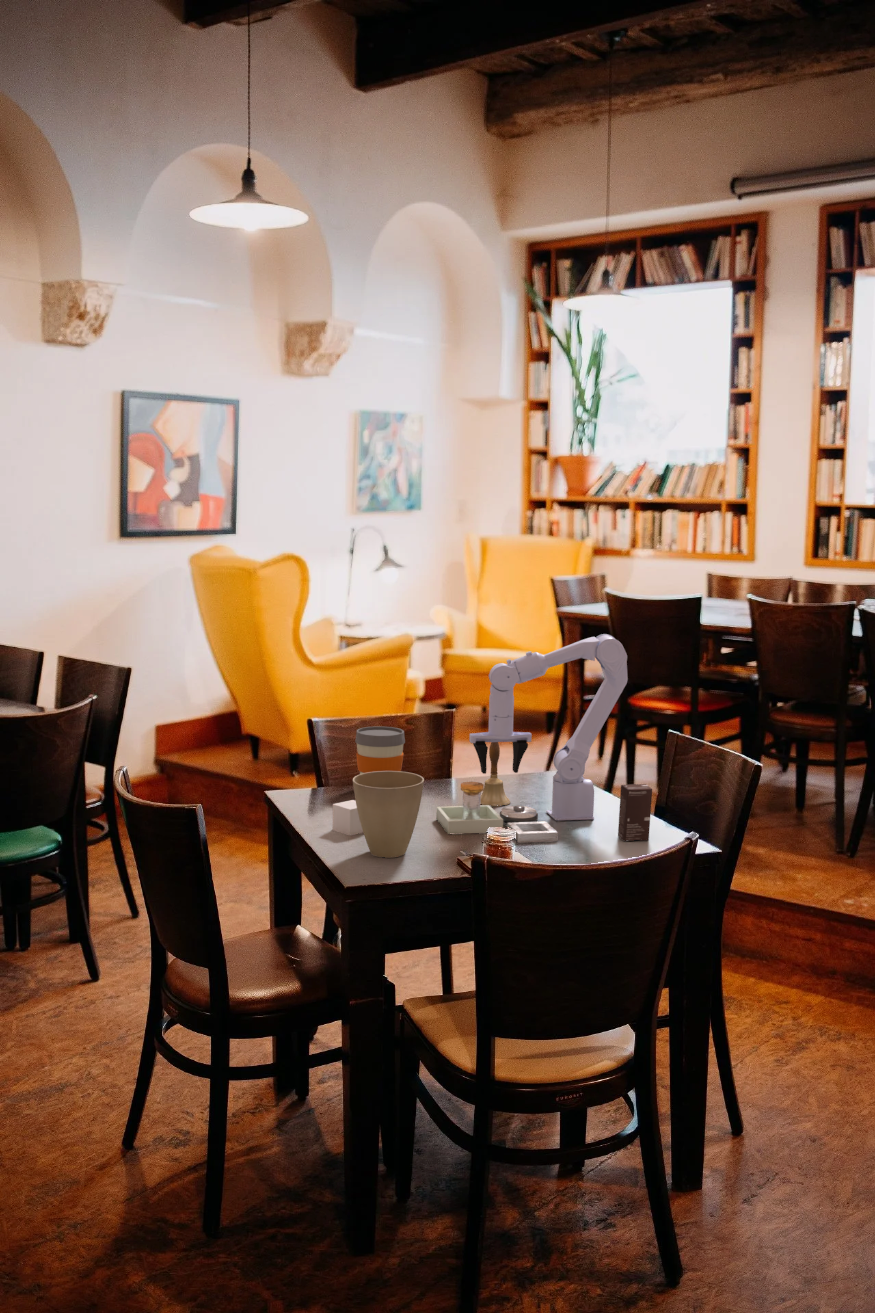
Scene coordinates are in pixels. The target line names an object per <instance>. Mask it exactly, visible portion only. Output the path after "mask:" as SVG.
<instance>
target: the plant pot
mask: <svg viewBox="0 0 875 1313" xmlns="http://www.w3.org/2000/svg"><path fill="white" fill-rule="evenodd" d="M424 783H425V778H424V777H423V776H421V775H420V774H417V773H413V772H408V771H402V770H401V771H376V772H368V773H363V774H360V773H359V774H358V775H355V776H354V777H353V778H352V786H353V792H354V798H355V799H354V800H355V801H356V806H357V810H358V815H359V819H360V823H361V826H362V830H363V835H364V836H363V837H364V838H365V841H366V844H367V847H368V850H369V852H370V854H371V855H373V856H374V857H377V858H382V857H385V858H384V859H389V858H390V859H391V858H397V857H402V856H404V855H405V854H406V852H407V851H408V847H409V845H410V842H411V839H412V836H413V833H414V829H415V827H416V823H417V819H418V815H419V812H420V807H421V804H422V802H421V801H422V797H423V788H424Z"/></svg>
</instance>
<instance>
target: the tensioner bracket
mask: <svg viewBox="0 0 875 1313" xmlns="http://www.w3.org/2000/svg"><path fill="white" fill-rule="evenodd" d="M499 816H500V817H501V818H502V819H503V826H505V825H506V827H509V828H511V829H514V830H515V831H516V840H517V841H516V840H515V841H516V842H517V843H518V844H520V843H521V844H523V843H525V844H526V843H548V842H558V838H559V831H557V830H556V829H555V828H554V827H552V826H551V824H549V822H547V821H546V820H545V821H539V813H538V812H537V809H535V808H533V807H530V806H525V805H517V804H516V805H510V806H509V805H507V806H503V807H502V808H501V810H500V811H499Z"/></svg>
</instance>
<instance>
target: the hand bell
mask: <svg viewBox="0 0 875 1313" xmlns="http://www.w3.org/2000/svg"><path fill="white" fill-rule="evenodd" d="M500 747H501V746H500V744H499V742H490V745H489V747H488V749H489V751H488V754H489V756H488V757H489V759H490V761H489V762H490V777H489V778H488V779H486V780H485V781H484V790H483V791H482V792H481V804H482V805H491V807H503V806H502V805H505V806H509V805H510V804H511V800H510V799H509V797H508V796H507V795H506V792H505V789H504V782H503V780H502V779H500V778H498V774H499V773H498V762H499V759H500V754H501V750H500ZM497 805H498V806H497ZM500 805H501V806H500Z"/></svg>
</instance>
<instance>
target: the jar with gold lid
mask: <svg viewBox="0 0 875 1313" xmlns="http://www.w3.org/2000/svg"><path fill="white" fill-rule="evenodd" d="M484 785H485V783H482V782H479V781H465V782H461V783H460V791H462V806H463V818H462V820H477V819H480V804H481V795H482V793H483V790H484Z"/></svg>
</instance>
